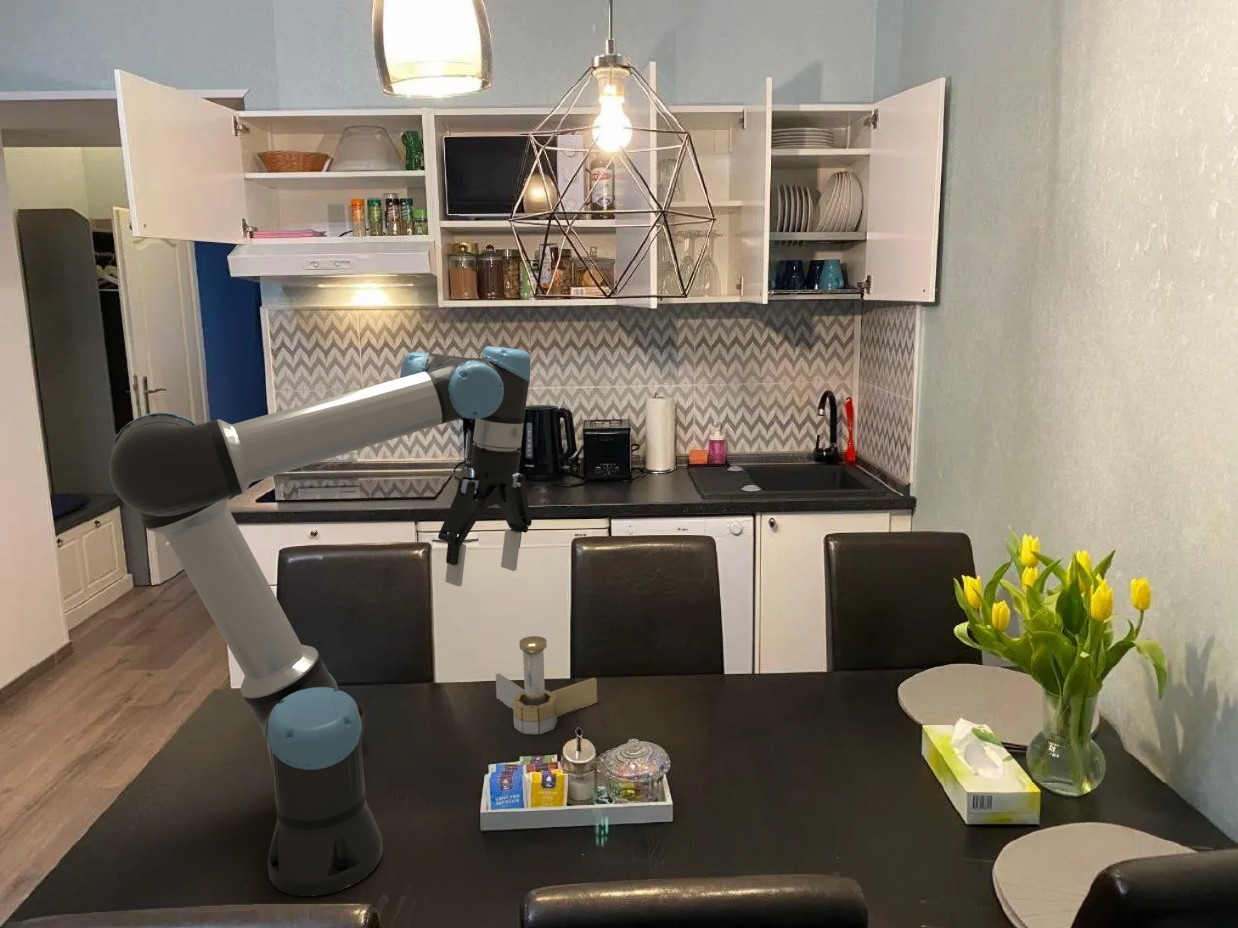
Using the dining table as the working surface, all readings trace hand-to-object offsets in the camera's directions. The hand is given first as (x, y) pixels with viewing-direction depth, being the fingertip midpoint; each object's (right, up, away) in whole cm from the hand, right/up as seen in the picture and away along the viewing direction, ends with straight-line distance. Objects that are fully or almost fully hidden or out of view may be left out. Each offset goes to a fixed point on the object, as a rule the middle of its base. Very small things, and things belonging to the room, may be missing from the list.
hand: (482, 576), depth 144 cm
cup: (-25, -32, +9) cm, 41 cm away
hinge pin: (+7, -29, +19) cm, 35 cm away
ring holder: (+7, -29, +22) cm, 37 cm away
